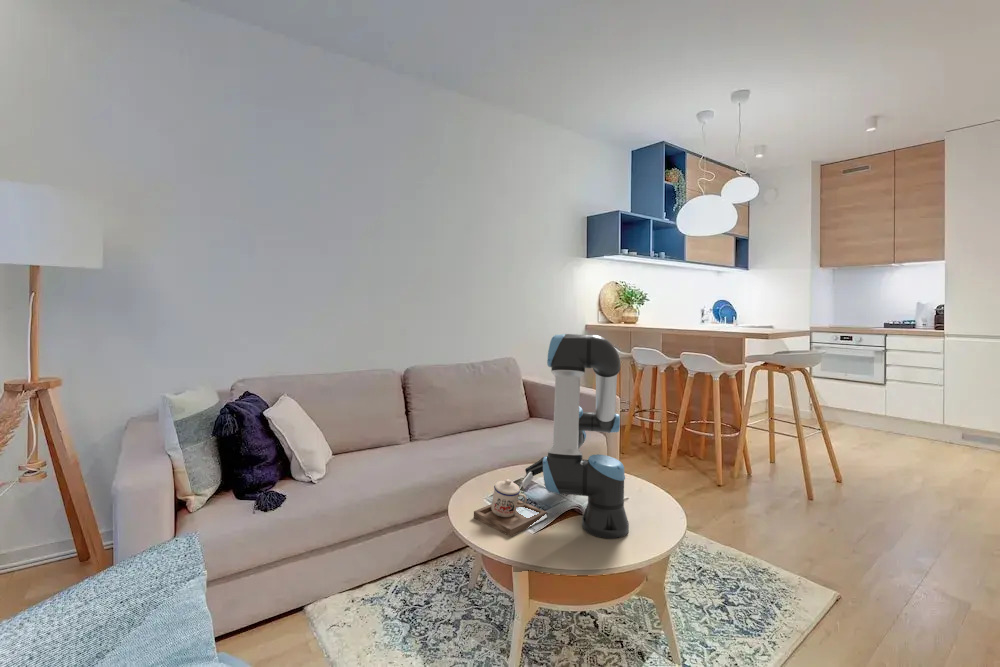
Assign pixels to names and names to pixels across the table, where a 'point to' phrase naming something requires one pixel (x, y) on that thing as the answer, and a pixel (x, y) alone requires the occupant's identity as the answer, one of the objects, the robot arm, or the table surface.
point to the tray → (508, 519)
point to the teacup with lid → (506, 498)
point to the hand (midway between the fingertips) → (538, 487)
